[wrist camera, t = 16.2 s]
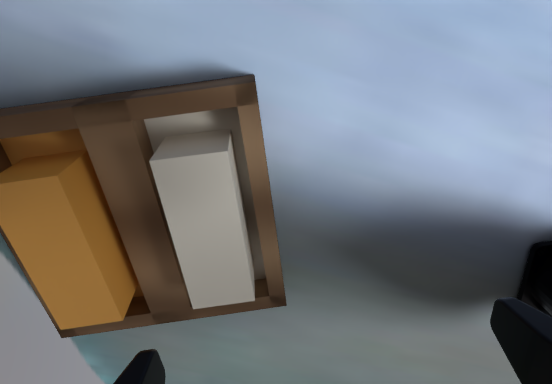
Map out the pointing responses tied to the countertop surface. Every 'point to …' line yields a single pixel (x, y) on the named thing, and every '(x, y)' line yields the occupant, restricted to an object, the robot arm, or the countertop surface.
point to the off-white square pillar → (206, 216)
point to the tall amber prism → (67, 238)
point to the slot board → (142, 188)
